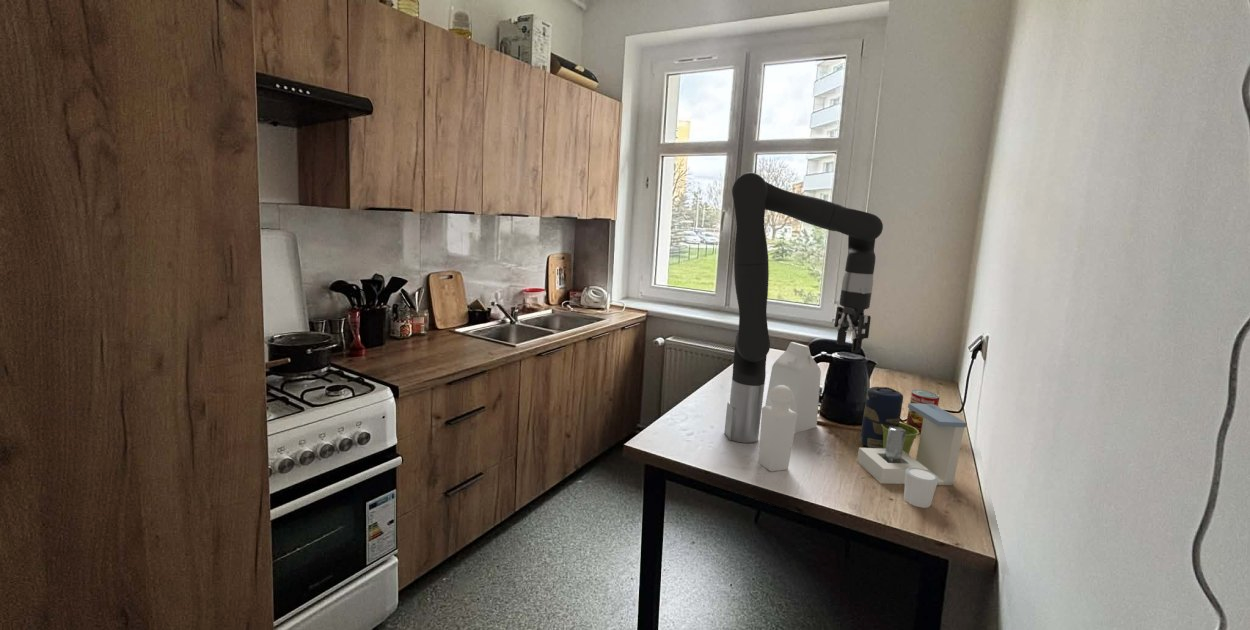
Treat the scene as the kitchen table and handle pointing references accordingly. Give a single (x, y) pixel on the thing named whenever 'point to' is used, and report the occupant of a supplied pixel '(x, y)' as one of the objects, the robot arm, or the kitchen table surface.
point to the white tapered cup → (919, 487)
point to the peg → (894, 445)
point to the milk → (798, 383)
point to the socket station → (922, 449)
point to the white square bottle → (777, 430)
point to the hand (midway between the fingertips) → (847, 348)
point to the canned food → (920, 398)
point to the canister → (880, 414)
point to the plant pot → (909, 436)
